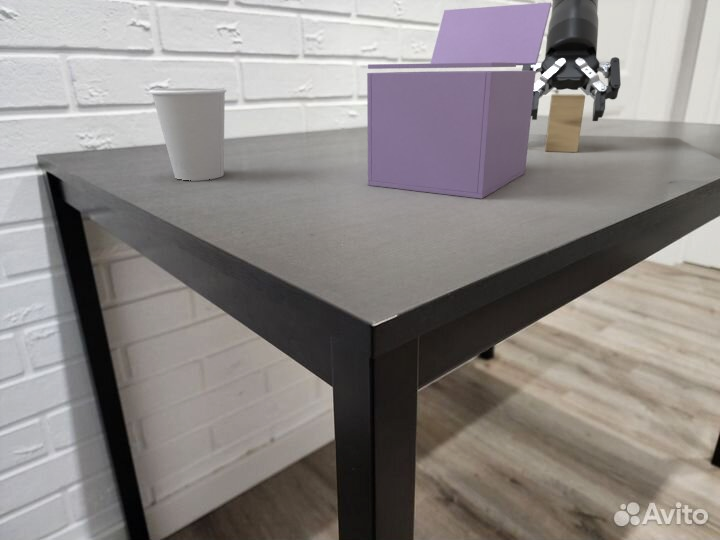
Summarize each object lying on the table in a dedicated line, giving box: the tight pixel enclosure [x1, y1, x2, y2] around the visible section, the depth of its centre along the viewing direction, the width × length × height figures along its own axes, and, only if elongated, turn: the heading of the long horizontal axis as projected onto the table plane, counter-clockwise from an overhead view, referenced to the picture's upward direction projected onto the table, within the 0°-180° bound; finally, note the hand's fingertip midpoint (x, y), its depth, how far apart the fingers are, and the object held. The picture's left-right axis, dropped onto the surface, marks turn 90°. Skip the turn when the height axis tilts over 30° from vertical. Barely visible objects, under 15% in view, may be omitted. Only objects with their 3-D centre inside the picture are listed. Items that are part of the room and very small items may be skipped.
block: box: [544, 93, 586, 153], centre depth 77 cm, size 4×4×8 cm
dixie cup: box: [149, 86, 227, 182], centre depth 60 cm, size 8×8×10 cm
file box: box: [366, 62, 537, 200], centre depth 57 cm, size 15×13×12 cm
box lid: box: [430, 2, 552, 66], centre depth 61 cm, size 7×13×1 cm
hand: (565, 116), depth 76 cm, fingers open, 8 cm apart
